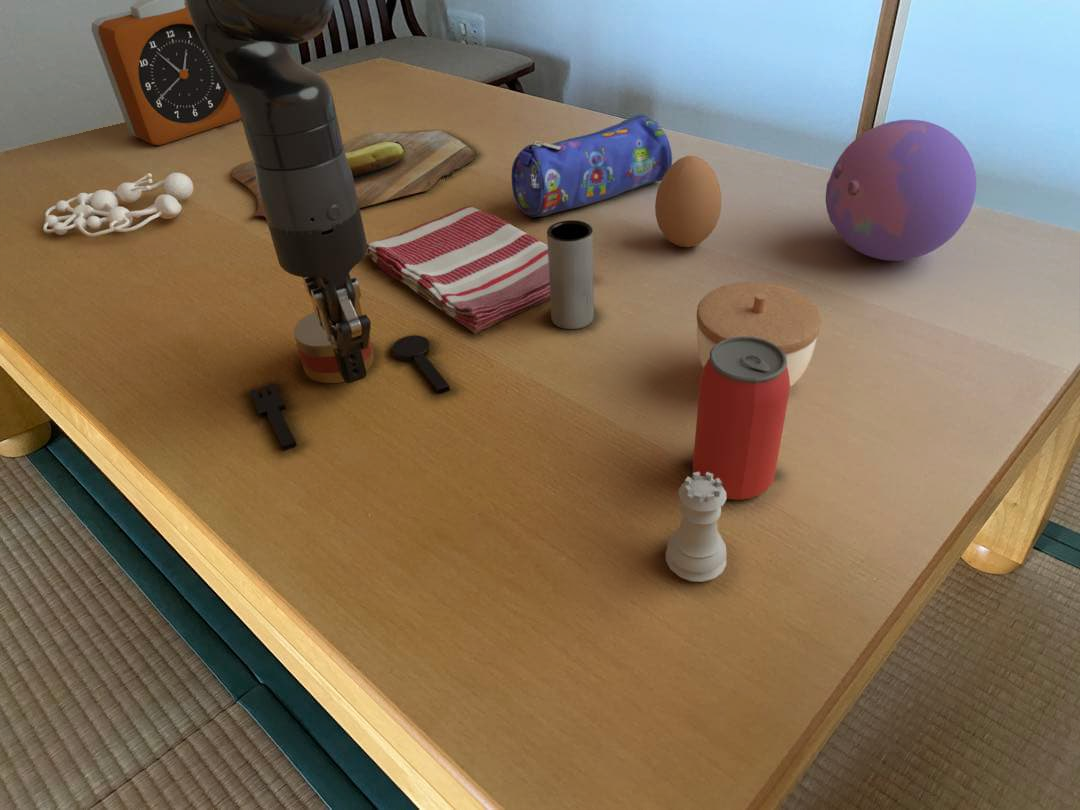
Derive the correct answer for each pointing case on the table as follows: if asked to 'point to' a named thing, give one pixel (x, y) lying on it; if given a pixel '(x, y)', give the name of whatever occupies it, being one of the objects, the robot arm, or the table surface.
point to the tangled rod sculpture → (118, 216)
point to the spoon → (420, 359)
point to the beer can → (741, 415)
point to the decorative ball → (901, 190)
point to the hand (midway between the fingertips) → (354, 376)
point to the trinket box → (760, 321)
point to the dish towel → (469, 266)
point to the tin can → (321, 351)
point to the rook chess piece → (698, 531)
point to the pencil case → (590, 166)
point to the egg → (688, 202)
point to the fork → (274, 414)
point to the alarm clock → (162, 72)
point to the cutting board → (389, 164)
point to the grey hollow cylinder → (571, 273)
